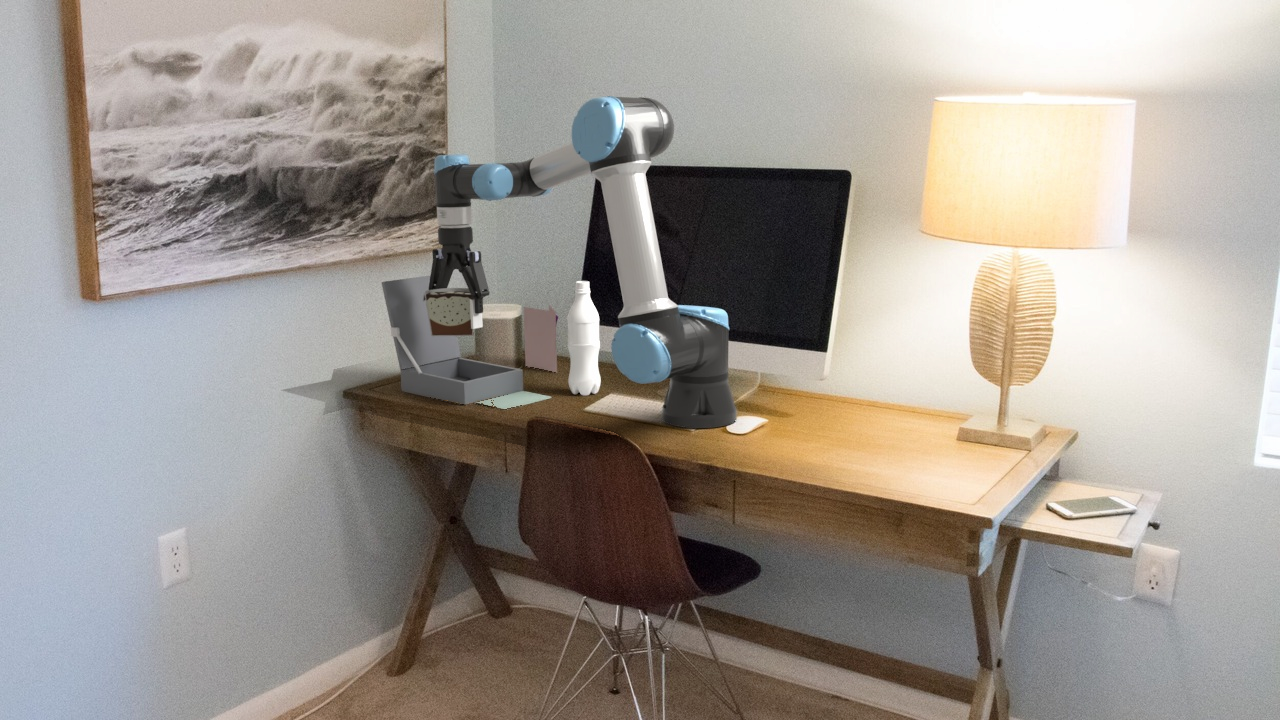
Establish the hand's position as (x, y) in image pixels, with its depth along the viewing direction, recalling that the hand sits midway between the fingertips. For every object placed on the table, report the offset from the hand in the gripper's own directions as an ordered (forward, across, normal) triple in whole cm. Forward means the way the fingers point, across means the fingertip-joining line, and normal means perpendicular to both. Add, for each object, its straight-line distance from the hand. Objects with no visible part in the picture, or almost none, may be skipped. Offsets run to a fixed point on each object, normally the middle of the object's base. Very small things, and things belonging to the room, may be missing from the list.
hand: (460, 325), depth 252 cm
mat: (+15, +15, +1) cm, 22 cm away
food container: (+2, -2, 0) cm, 3 cm away
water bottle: (+16, +22, +16) cm, 32 cm away
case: (+15, -3, 0) cm, 15 cm away
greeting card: (+15, -4, +28) cm, 32 cm away
